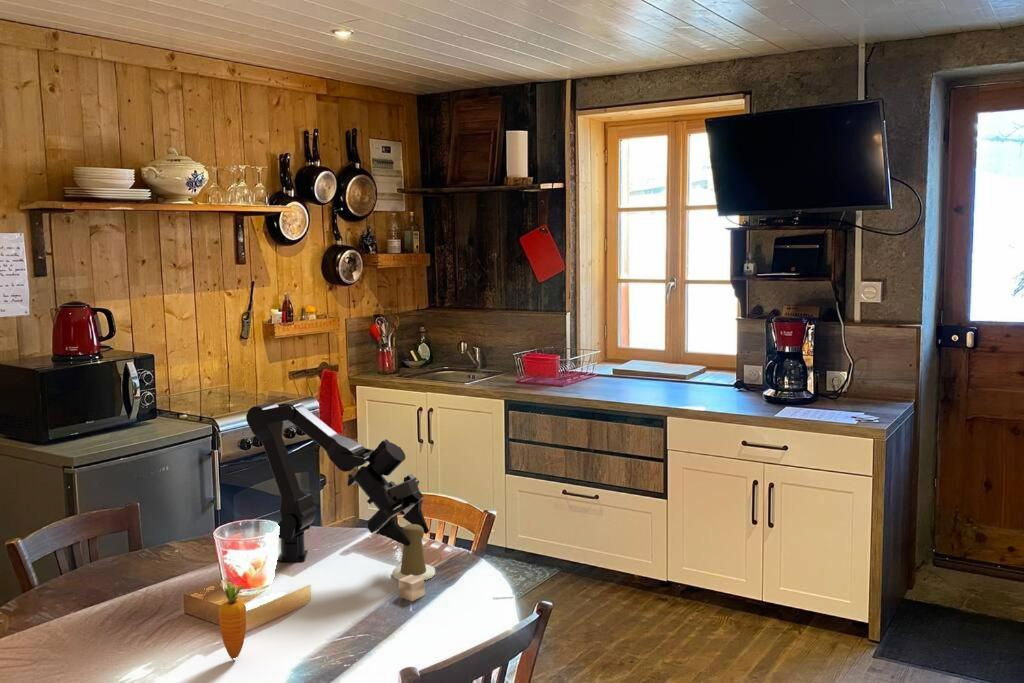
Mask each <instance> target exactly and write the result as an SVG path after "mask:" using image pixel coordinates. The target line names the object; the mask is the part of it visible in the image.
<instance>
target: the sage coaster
mask: <svg viewBox="0 0 1024 683" xmlns="http://www.w3.org/2000/svg"><path fill="white" fill-rule="evenodd" d="M425 565H426V572H425V573H424V574H421V575H416V576H418V577H421V578H424V580H426V581H429V580H431V579H433V578H434V577H435V576H436V568H435V567H434V566H433V565H430V564H427V563H425ZM434 575H435V576H434ZM406 576H408V575H403V574H402V573H401V565H398V566H396V567H395V568H393V570H392V578H394V579H395V580H396V581H398V582H399V579H402V578H404V577H406ZM433 576H434V577H433ZM432 577H433V578H432ZM430 578H431V579H430ZM428 579H429V580H428Z"/></svg>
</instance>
